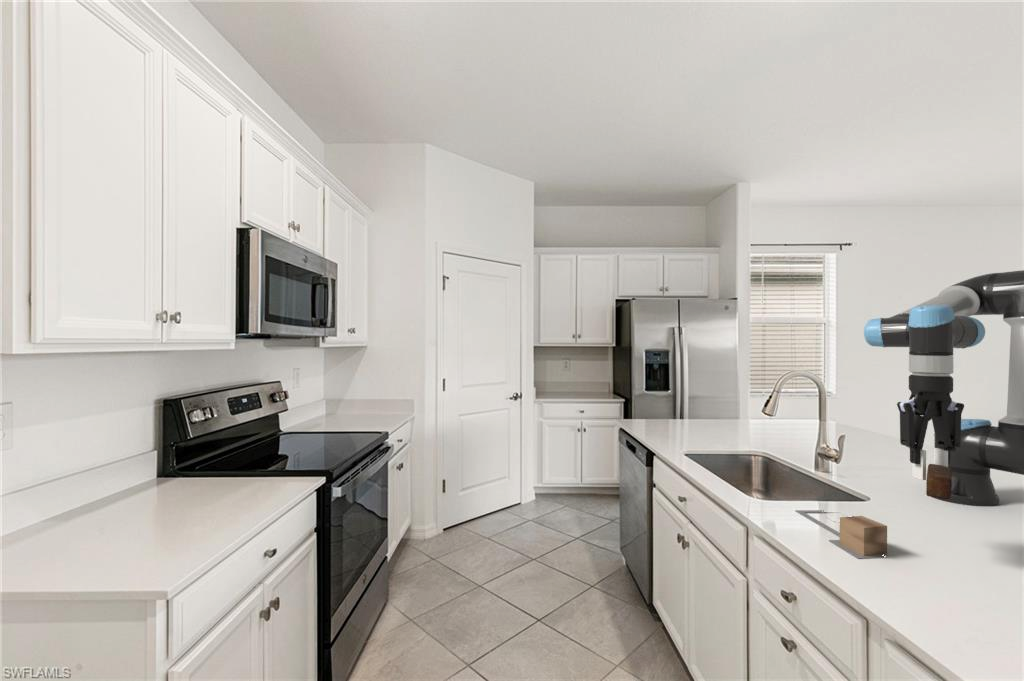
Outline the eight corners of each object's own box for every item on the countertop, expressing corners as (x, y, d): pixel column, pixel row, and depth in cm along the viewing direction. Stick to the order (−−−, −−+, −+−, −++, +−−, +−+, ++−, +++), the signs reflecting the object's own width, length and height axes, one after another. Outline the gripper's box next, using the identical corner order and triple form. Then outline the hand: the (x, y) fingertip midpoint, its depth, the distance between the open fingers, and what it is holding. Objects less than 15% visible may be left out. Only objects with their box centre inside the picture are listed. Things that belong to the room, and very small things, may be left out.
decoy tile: (867, 540, 109) (867, 539, 109) (899, 558, 100) (899, 557, 100) (828, 540, 109) (828, 540, 109) (857, 558, 100) (857, 557, 100)
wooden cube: (861, 541, 108) (861, 515, 108) (887, 553, 103) (887, 525, 103) (839, 543, 107) (839, 517, 107) (863, 555, 101) (864, 527, 101)
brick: (951, 501, 96) (952, 479, 96) (925, 496, 99) (926, 474, 99) (951, 485, 104) (952, 464, 104) (927, 481, 107) (928, 461, 106)
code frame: (842, 511, 129) (842, 510, 129) (893, 537, 112) (893, 536, 112) (795, 511, 128) (795, 510, 128) (839, 537, 111) (839, 536, 111)
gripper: (952, 373, 110) (951, 473, 110) (879, 373, 110) (878, 473, 110) (985, 375, 103) (984, 483, 103) (906, 375, 102) (906, 483, 102)
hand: (929, 478), depth 106 cm, fingers closed on brick, 4 cm apart
